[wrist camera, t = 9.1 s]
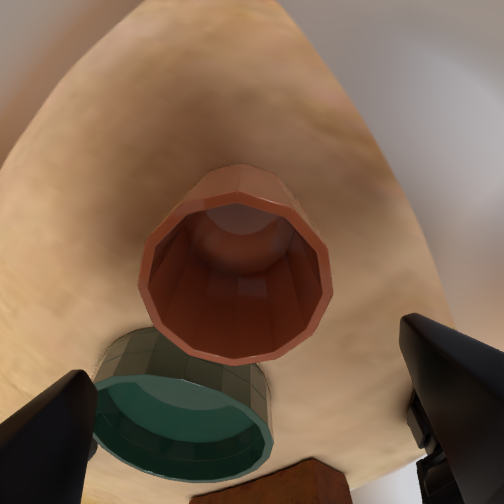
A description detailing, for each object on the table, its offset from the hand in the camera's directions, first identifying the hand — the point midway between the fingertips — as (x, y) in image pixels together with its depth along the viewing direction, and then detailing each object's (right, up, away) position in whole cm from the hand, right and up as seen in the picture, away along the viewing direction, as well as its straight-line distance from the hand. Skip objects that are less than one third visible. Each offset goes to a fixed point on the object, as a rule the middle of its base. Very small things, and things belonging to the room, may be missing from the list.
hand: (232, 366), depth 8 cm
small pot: (0, +5, +11) cm, 12 cm away
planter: (-5, -9, +16) cm, 19 cm away
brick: (+2, -27, +24) cm, 36 cm away
